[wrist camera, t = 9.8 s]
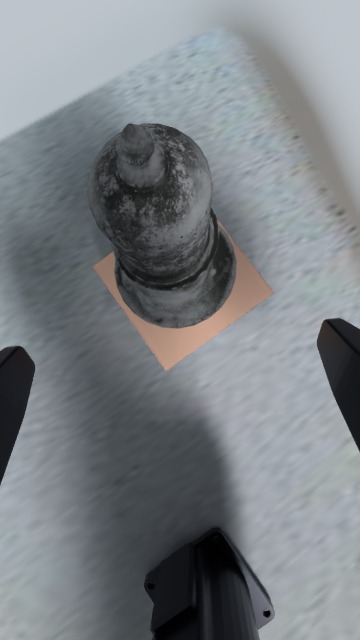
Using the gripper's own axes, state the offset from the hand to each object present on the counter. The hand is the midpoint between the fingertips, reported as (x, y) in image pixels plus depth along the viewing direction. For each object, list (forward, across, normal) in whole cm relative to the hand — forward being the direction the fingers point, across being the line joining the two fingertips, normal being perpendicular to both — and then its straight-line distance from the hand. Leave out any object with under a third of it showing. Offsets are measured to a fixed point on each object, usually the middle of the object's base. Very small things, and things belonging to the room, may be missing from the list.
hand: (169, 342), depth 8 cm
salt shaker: (+8, 0, +3) cm, 9 cm away
